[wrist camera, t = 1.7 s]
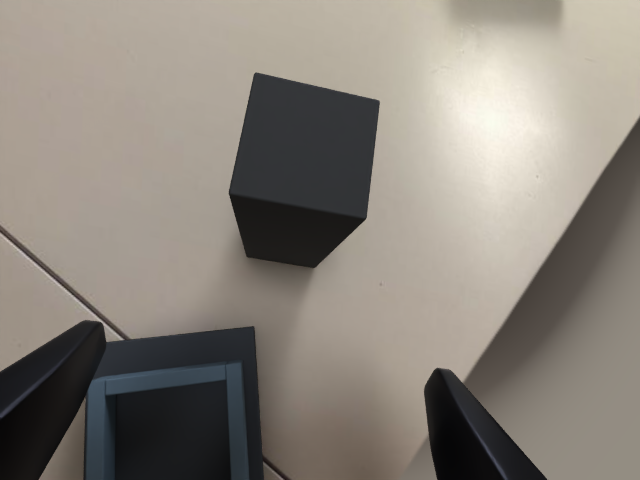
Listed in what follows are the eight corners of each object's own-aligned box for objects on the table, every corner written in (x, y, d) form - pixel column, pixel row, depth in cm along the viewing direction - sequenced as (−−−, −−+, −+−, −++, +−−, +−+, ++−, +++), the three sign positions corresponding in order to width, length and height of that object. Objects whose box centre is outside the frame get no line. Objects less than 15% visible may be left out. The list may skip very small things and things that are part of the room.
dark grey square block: (315, 268, 23) (366, 219, 12) (246, 257, 23) (227, 194, 11) (324, 203, 24) (380, 99, 13) (258, 191, 24) (254, 70, 12)
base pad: (267, 528, 20) (267, 558, 17) (89, 565, 18) (62, 603, 16) (254, 326, 22) (253, 327, 19) (94, 343, 20) (71, 347, 18)
